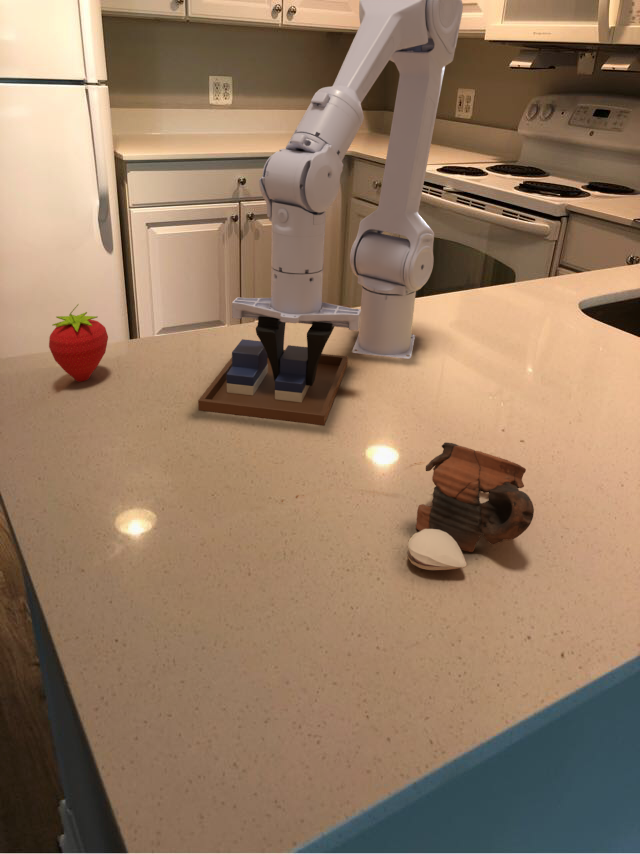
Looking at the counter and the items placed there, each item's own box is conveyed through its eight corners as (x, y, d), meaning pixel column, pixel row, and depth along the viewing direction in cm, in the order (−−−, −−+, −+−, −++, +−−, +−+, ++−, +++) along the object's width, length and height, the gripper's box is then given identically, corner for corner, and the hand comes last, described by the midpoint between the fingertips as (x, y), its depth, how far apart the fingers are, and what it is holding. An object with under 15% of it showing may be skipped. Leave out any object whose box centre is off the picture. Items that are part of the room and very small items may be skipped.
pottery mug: (386, 518, 64) (414, 431, 63) (460, 536, 69) (486, 455, 68) (479, 564, 53) (513, 460, 53) (557, 581, 58) (589, 486, 58)
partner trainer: (243, 369, 89) (242, 338, 87) (267, 372, 88) (268, 340, 86) (226, 392, 83) (225, 359, 81) (253, 395, 82) (253, 362, 80)
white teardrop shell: (424, 540, 60) (428, 515, 59) (477, 565, 57) (481, 540, 56) (396, 564, 57) (399, 539, 56) (450, 592, 54) (454, 566, 53)
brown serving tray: (241, 357, 94) (241, 345, 93) (347, 369, 92) (347, 356, 91) (198, 414, 79) (197, 400, 78) (324, 430, 77) (324, 415, 76)
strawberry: (123, 375, 87) (116, 297, 83) (84, 399, 81) (73, 316, 76) (84, 367, 89) (74, 289, 84) (42, 389, 83) (29, 307, 78)
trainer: (287, 375, 88) (288, 344, 86) (313, 378, 87) (314, 346, 85) (274, 399, 82) (274, 366, 80) (301, 402, 81) (302, 369, 79)
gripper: (222, 270, 75) (225, 387, 82) (358, 283, 73) (350, 401, 79) (241, 254, 81) (242, 364, 88) (366, 265, 79) (358, 376, 86)
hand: (294, 380), depth 84 cm, fingers closed on trainer, 3 cm apart
